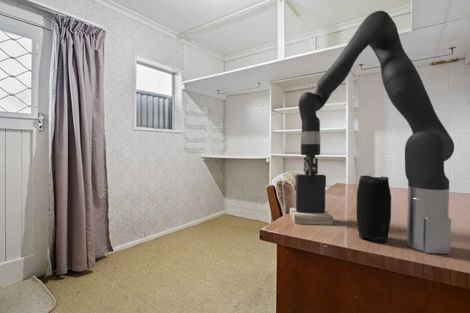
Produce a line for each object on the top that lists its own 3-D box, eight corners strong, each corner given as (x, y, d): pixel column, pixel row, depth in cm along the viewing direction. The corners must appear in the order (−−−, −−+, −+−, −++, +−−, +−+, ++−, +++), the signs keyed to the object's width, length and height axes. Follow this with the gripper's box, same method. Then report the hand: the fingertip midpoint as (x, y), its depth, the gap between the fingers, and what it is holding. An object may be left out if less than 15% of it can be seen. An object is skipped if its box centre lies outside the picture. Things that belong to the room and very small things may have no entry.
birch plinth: (332, 224, 92) (332, 216, 92) (294, 223, 93) (294, 215, 93) (322, 215, 106) (322, 208, 106) (289, 214, 107) (289, 207, 107)
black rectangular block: (322, 210, 101) (323, 174, 101) (325, 213, 97) (326, 175, 97) (295, 210, 102) (295, 174, 102) (297, 212, 98) (297, 175, 97)
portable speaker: (353, 233, 83) (354, 175, 82) (383, 235, 81) (385, 175, 80) (360, 242, 74) (361, 177, 74) (395, 245, 72) (396, 178, 72)
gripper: (325, 142, 92) (324, 186, 92) (315, 143, 106) (315, 181, 106) (304, 142, 92) (303, 185, 93) (297, 143, 107) (297, 181, 107)
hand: (310, 183), depth 99 cm, fingers open, 8 cm apart
